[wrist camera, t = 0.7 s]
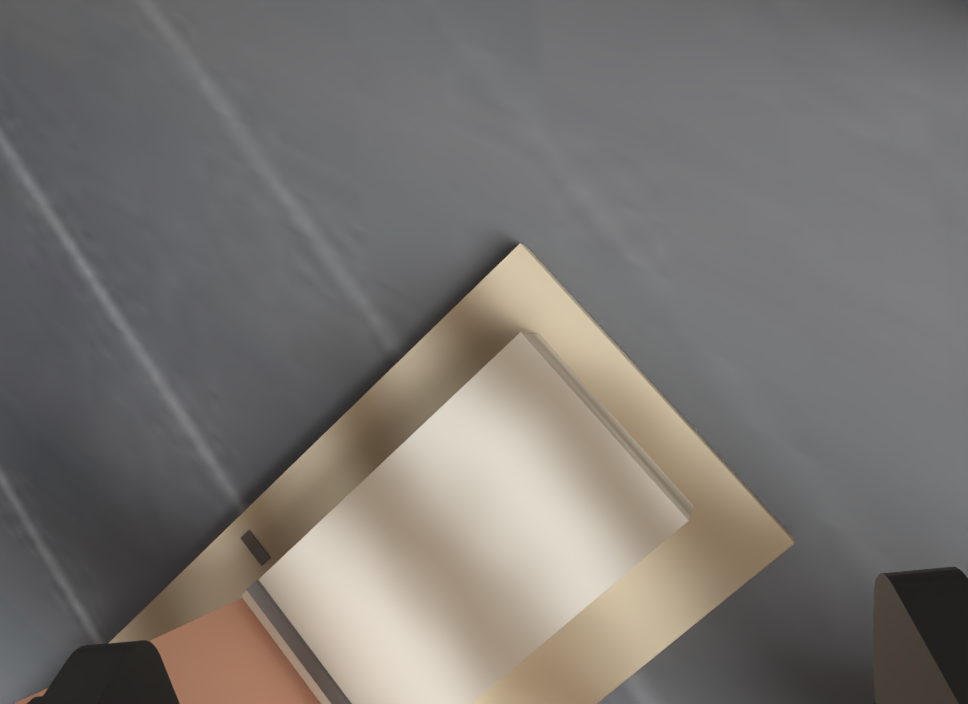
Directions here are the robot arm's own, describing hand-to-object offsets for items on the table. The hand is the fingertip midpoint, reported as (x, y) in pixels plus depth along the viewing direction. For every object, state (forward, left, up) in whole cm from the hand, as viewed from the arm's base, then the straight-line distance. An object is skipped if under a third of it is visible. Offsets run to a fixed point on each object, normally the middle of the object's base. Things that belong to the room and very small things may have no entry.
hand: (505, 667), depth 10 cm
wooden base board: (+12, -8, -23) cm, 27 cm away
